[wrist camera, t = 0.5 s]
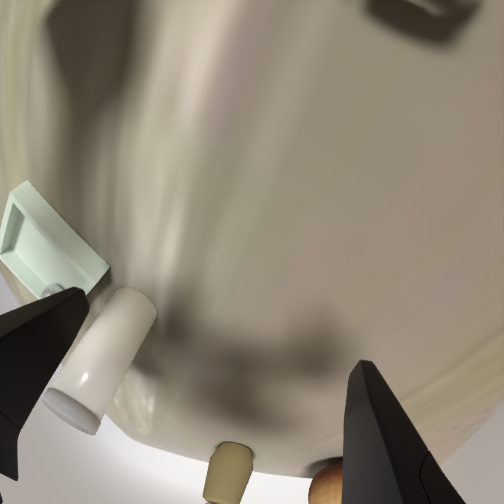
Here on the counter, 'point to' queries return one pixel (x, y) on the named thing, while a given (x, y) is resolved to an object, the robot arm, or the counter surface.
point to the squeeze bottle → (228, 474)
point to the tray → (45, 245)
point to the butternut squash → (327, 485)
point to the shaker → (101, 360)
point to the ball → (50, 290)
